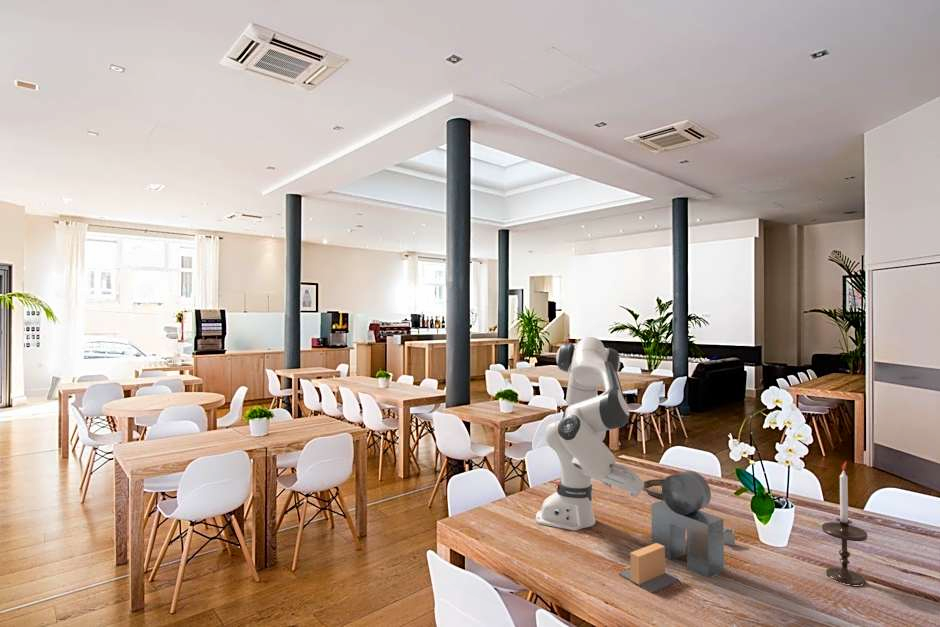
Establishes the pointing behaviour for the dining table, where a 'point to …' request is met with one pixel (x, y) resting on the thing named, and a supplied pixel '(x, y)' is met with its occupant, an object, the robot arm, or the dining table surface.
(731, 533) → the lighter
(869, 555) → the dining table surface
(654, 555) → the plug
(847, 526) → the candlestick
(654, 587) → the mat
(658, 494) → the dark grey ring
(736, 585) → the dining table surface
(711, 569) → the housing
